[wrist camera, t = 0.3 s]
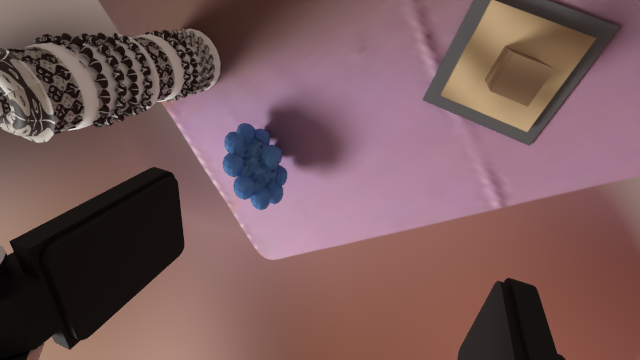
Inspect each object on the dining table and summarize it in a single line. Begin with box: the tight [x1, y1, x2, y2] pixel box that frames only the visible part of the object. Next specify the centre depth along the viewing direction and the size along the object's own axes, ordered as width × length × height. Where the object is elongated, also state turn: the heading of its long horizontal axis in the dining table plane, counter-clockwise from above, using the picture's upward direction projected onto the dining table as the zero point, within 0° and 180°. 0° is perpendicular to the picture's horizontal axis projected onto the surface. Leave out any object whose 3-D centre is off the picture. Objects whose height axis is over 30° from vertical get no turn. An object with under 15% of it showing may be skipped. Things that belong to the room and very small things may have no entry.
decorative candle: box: [0, 28, 221, 143], centre depth 37 cm, size 9×9×25 cm
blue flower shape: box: [223, 123, 287, 210], centre depth 44 cm, size 12×7×12 cm, turn 35°
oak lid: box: [441, 0, 596, 132], centre depth 32 cm, size 10×10×7 cm
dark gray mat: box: [423, 0, 620, 146], centre depth 35 cm, size 13×13×1 cm
